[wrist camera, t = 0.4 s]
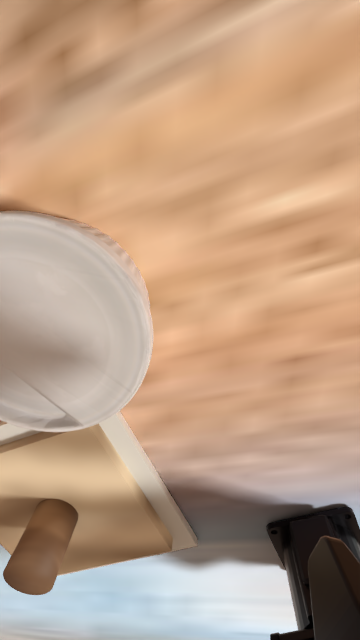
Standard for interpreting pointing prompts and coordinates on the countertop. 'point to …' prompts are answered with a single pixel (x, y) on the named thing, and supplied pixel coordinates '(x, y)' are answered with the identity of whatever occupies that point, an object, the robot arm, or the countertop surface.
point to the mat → (140, 471)
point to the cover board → (85, 490)
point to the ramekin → (68, 324)
